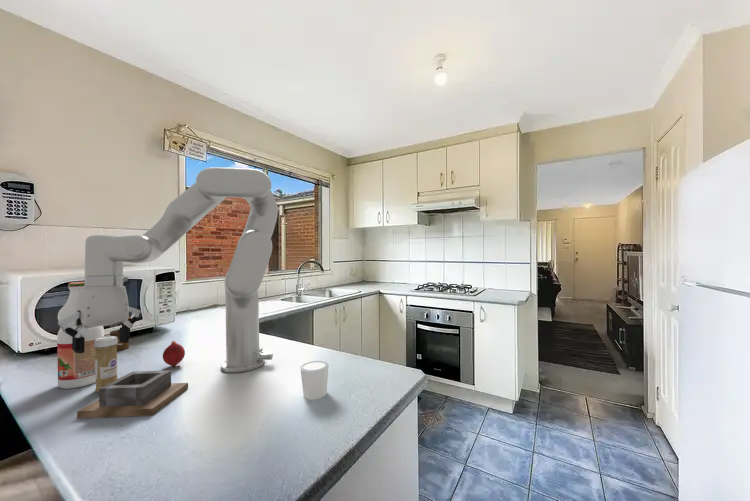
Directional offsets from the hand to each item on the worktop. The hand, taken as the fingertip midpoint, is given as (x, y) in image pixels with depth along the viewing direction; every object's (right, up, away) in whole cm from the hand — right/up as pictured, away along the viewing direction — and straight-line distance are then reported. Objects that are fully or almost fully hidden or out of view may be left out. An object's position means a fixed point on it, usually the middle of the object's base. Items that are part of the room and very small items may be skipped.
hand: (102, 347), depth 79 cm
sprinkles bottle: (+1, -11, 0) cm, 11 cm away
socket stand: (+15, -11, -7) cm, 20 cm away
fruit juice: (-10, -12, +5) cm, 16 cm away
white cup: (+57, -10, -5) cm, 58 cm away
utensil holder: (-25, -12, +35) cm, 44 cm away
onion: (+9, -11, +15) cm, 21 cm away
